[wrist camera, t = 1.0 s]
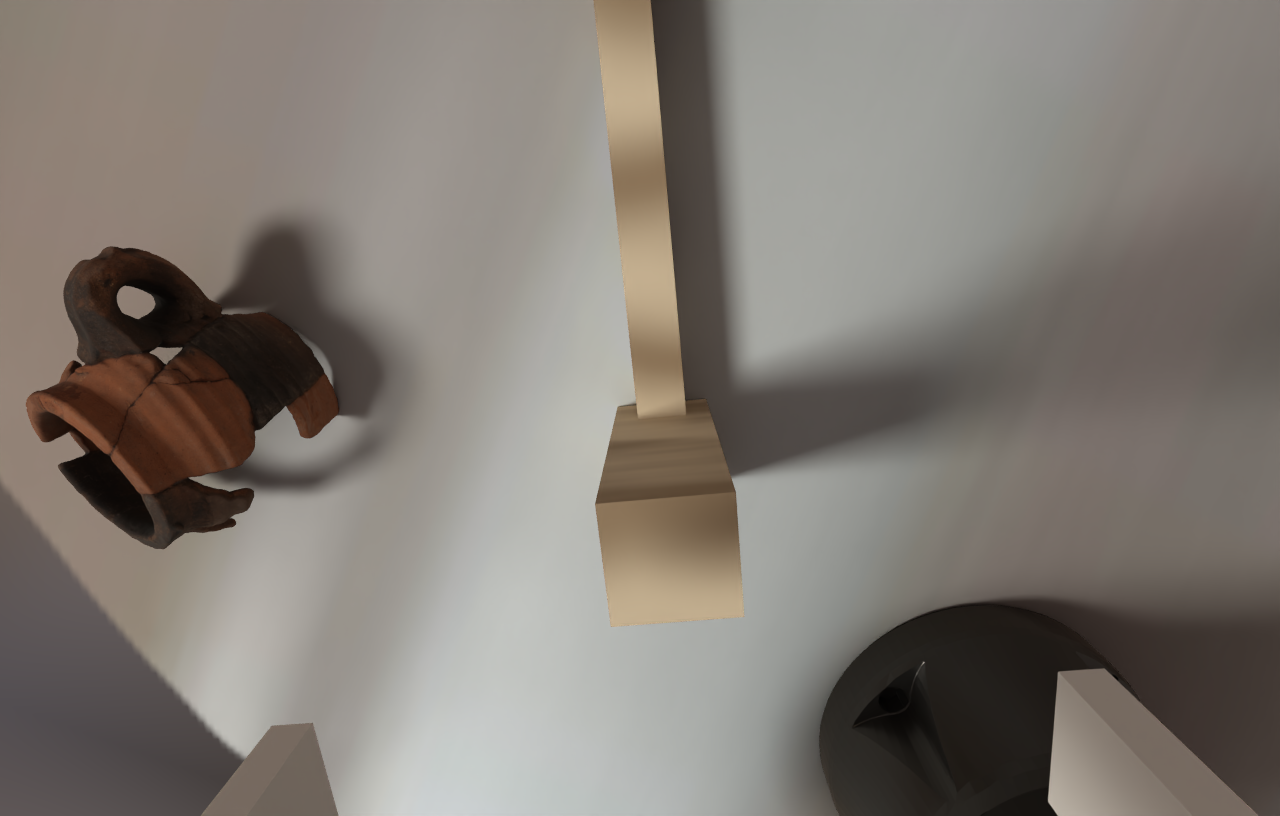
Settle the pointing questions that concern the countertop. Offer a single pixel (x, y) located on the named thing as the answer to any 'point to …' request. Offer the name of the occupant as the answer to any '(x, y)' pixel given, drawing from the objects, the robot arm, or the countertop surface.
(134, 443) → the pottery mug
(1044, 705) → the robot arm
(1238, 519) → the countertop surface
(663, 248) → the wooden mallet
